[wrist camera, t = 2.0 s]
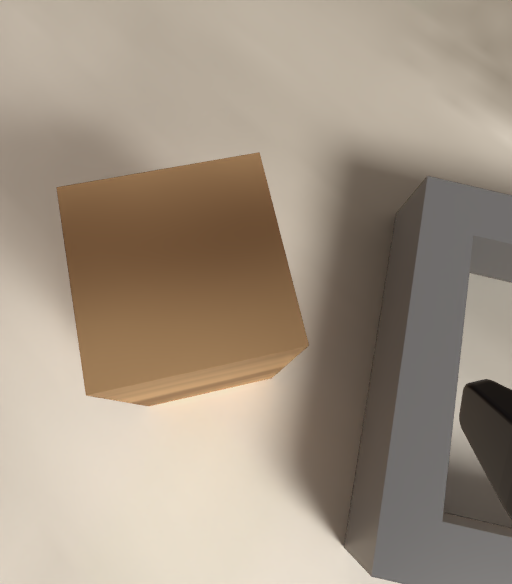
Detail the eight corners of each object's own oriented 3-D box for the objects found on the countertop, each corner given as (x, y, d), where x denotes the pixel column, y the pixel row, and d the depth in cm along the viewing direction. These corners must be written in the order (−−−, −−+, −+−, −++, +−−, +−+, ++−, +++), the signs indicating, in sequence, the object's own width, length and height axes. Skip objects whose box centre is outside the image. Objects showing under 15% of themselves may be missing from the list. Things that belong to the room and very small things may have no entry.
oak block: (271, 378, 20) (308, 345, 11) (148, 406, 19) (85, 395, 10) (244, 263, 21) (259, 152, 12) (128, 286, 20) (56, 187, 12)
